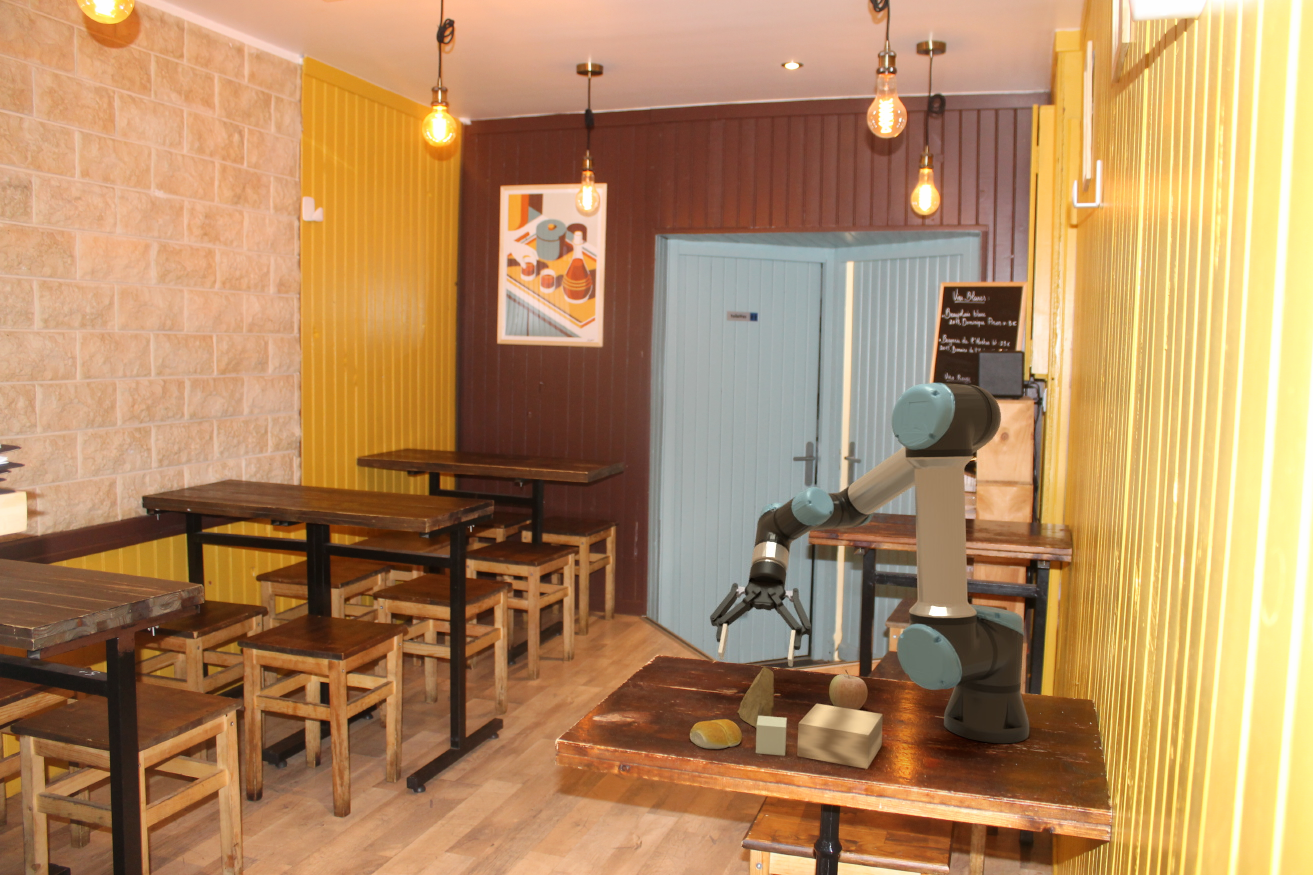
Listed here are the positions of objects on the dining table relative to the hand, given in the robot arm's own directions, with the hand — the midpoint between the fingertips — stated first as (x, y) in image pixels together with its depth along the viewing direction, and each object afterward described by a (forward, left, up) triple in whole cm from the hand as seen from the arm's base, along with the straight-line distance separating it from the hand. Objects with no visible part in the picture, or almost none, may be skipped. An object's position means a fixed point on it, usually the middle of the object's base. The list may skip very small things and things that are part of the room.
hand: (755, 659), depth 188 cm
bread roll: (+1, +19, -11) cm, 22 cm away
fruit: (-16, -10, -10) cm, 22 cm away
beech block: (-20, +13, -11) cm, 26 cm away
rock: (-2, +6, -11) cm, 12 cm away
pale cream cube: (-9, +18, -10) cm, 22 cm away
